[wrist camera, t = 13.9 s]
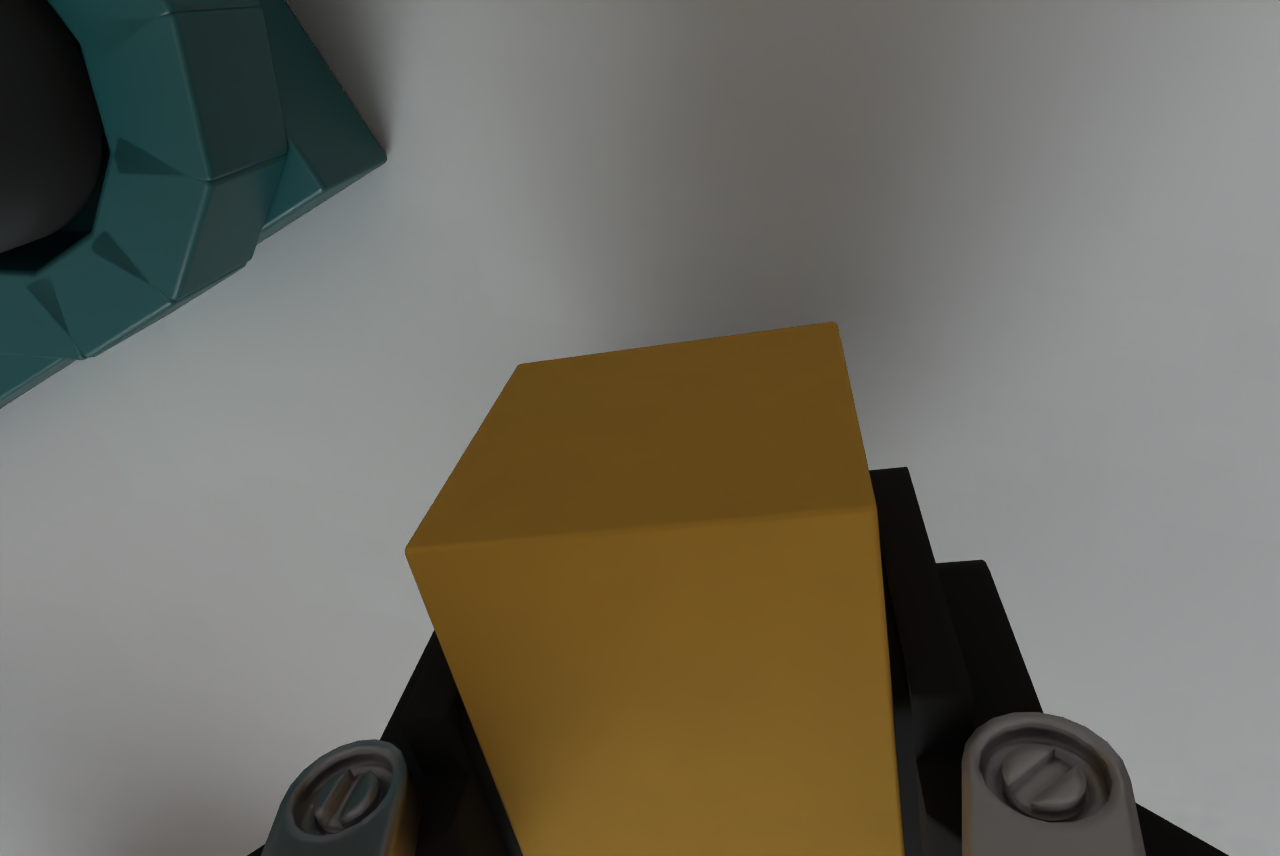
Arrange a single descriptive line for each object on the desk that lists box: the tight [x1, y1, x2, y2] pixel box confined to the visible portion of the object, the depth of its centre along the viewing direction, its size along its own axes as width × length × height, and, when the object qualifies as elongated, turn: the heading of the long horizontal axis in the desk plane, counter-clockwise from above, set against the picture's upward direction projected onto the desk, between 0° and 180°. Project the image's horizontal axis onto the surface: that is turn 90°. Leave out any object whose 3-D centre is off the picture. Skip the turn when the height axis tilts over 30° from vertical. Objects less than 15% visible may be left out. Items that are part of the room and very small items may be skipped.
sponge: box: [405, 322, 905, 856], centre depth 10 cm, size 7×4×4 cm, turn 11°
